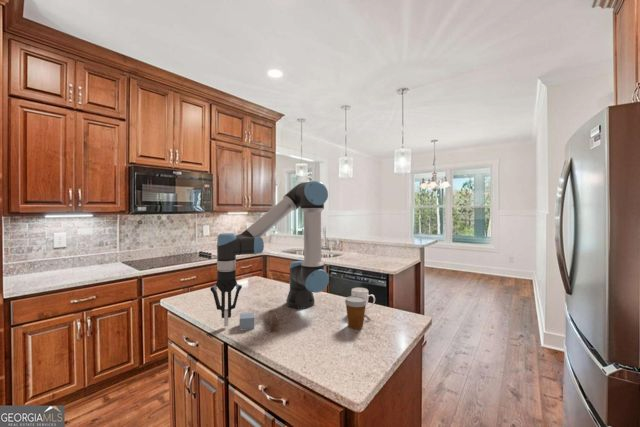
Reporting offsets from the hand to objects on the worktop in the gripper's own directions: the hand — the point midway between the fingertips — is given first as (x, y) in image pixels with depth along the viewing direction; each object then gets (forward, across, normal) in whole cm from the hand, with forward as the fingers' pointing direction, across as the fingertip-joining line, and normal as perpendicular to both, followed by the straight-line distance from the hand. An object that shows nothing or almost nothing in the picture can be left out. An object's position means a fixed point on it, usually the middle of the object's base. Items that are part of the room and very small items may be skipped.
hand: (226, 325), depth 122 cm
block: (+2, -8, 0) cm, 9 cm away
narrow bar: (+1, -20, 0) cm, 20 cm away
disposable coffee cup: (+2, -55, +9) cm, 56 cm away
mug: (+2, -64, -5) cm, 64 cm away
